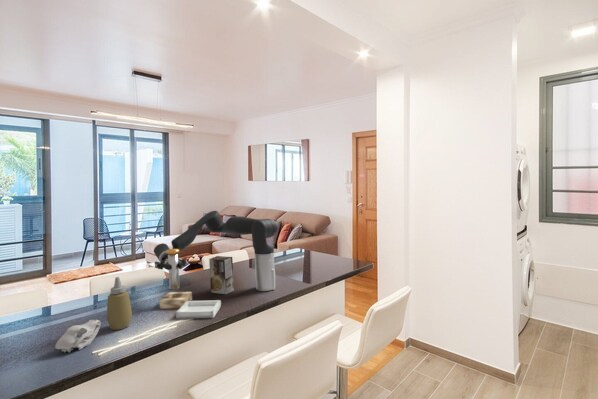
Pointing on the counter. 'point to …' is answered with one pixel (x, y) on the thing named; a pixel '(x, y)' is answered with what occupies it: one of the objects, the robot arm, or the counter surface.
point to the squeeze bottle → (118, 307)
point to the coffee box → (221, 274)
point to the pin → (173, 268)
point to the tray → (199, 309)
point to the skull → (78, 336)
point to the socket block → (175, 299)
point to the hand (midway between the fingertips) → (174, 266)
